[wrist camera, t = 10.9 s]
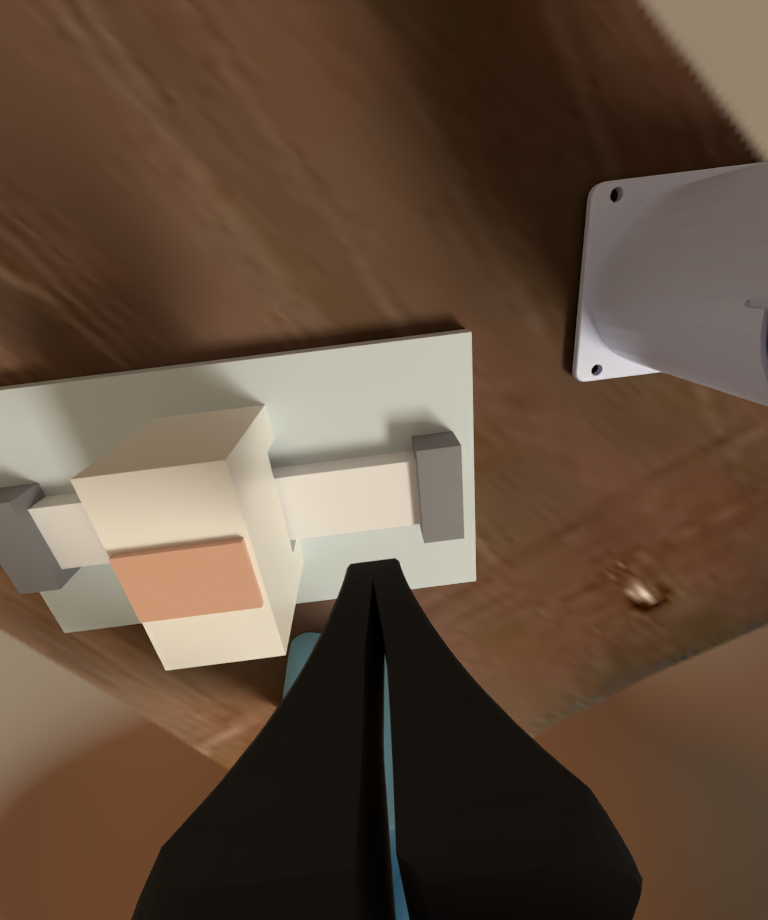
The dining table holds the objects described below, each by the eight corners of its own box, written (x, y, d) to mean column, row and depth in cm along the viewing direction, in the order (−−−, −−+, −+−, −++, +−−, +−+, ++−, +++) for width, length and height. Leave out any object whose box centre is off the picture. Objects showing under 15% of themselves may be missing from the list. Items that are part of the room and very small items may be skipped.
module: (265, 404, 18) (222, 464, 13) (303, 561, 22) (284, 661, 16) (155, 418, 18) (64, 483, 13) (213, 573, 22) (162, 677, 16)
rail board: (465, 329, 18) (483, 337, 16) (471, 569, 24) (484, 603, 22) (-59, 394, 18) (-126, 413, 16) (75, 619, 24) (42, 660, 22)
